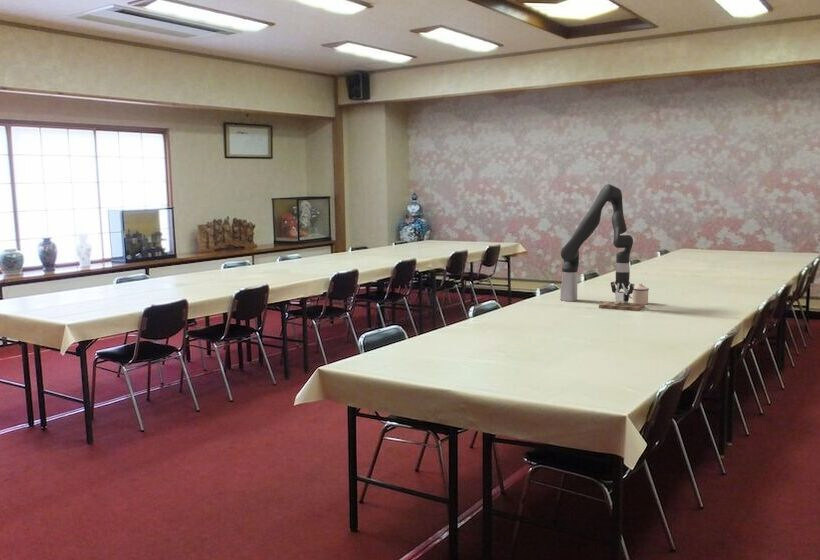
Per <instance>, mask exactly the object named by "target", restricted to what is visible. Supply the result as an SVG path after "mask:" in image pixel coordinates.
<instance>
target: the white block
mask: <svg viewBox="0 0 820 560" xmlns="http://www.w3.org/2000/svg"><path fill="white" fill-rule="evenodd" d="M615 302H616V303H618V304H619V303H628V302H629V300H628V301H627V302H625V291H624V290H623V291H622V290H620V292H616V294H615Z"/></svg>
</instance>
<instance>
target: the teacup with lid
mask: <svg viewBox="0 0 820 560" xmlns="http://www.w3.org/2000/svg"><path fill="white" fill-rule="evenodd" d="M649 289H650V288H649V287H648V286H646V285H643V283H641V282H640V283H638V284H637V285H636V286H634V289H633V293H632V296H631V294H629V299H631V300H632V302H631V303H639V304H645V305H648V304H649Z"/></svg>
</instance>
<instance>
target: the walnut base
mask: <svg viewBox="0 0 820 560" xmlns="http://www.w3.org/2000/svg"><path fill="white" fill-rule="evenodd" d="M645 306H646V304H639V303H632V302H629V301H628V303H619V304H618V303H616V301H603V302H602V303H600V304H598V309H605V310H621V311H631V312H632V311H633V312H639V311H641V310H643V309H645Z"/></svg>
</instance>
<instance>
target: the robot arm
mask: <svg viewBox="0 0 820 560" xmlns="http://www.w3.org/2000/svg"><path fill="white" fill-rule="evenodd" d="M606 203H610V204H611V207H612V209H613V212H612V215H611V224H612V229H613V239H612V241H613V242H612V243H613V246H614V247H615V248H617V249H623V248H624V249H623V250H622V251H619V252H617V253H616V256H615V257H616V263H615V281H611V282H610V286H611V287H610V289H611V292H612V293H614V294H615V295H616V292H620V291H622V290H623V292H625V302H627V301H628V302H629V300H630V298H629V294H630V295H633V289H634V287H635V283H631V282H630V277H631V275H630V273H631V272H630V270H631V269H630V268H631V267H630V255H631V251H632V247H633V245H634V238H633V236H632V235H630V234H625V233H626V232H627V230H628V229H627V224H626V221H625V220H626V219H625V215H624V208H623V207H624V206H623V205H624V203H623V194H622V190H621V189H620V188H618V187H616V186H614V185H613V184H609V183H608V184H605V185H604V186H603V187H602V188H601V189H600V191H599V193H598V194H597V196H596V197H595V200H594V203H592V205H591V207H590V208H589V210H588V212H586V214H585V216H584V217H583V218H582V220H581V222H579V224H578V227H577V228H576V229H575V231H574V233H573V234H572V236H571V237H570V239H569V240H568V241H567V242H566V244H565V245H564V246H563V247H562V249H561V250H560V257H561V259H562V260H563V263H562V266H561V284H560V298H559V299H560V301H564V302H576V301H578V286H579V285H578V284H579V283H578V281H579V280H578V274H579V273H578V272H579V271H578V270H579V265H580V264H579V263H580V259H579V258H580V251H579V250H580V248H581V246H582V245H583V244H584V243H585V242H586V241H587V239H588V238H589V237H590V236H591V235H592V234H593V233H594V232H595V231H596V229H597V227H598V226H600V225H599V224H600V222H601V218H602V210H603V208H604V206H605V205H606Z"/></svg>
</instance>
